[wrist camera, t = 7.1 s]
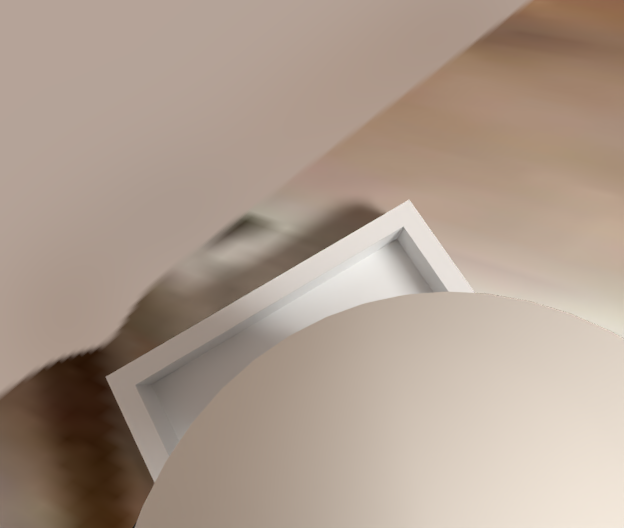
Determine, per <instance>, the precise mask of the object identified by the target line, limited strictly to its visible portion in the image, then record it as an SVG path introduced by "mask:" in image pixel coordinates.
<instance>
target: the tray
mask: <svg viewBox="0 0 624 528" xmlns="http://www.w3.org/2000/svg"><path fill="white" fill-rule="evenodd" d="M445 291H446V292H467V293H475V292H474V290H473V289H472V288H471V286H470V285H469V283H468V282H467V281H466V279H465V278H464V276H463V275H462V274H461V272H460V271H459V269H458V268H457V266H456V265H455V264H454V262H453V261H452V259H451V258H450V257H449V255H448V254H447V252H446V251H445V250H444V248H443V247H442V245H441V244H440V242H439V241H438V240H437V238H436V237H435V235H434V234H433V233H432V231H431V230H430V228H429V227H428V226H427V224H426V223H425V221H424V220H423V218H422V217H421V216H420V214H419V213H418V211H417V210H416V209H415V207H414V206H413V204H412V203H411V201H410V200H408V201H406V202H404V203H403V204H401V205H399V206H397V207H396V208H394V209H392V210H391V211H389V212H387V213H385V214H384V215H382V216H380V217H379V218H377V219H375V220H373V221H372V222H370V223H368V224H367V225H365V226H363V227H361V228H360V229H358V230H356V231H355V232H353V233H351V234H349V235H348V236H346V237H344V238H343V239H341V240H339V241H337V242H336V243H334V244H332V245H331V246H329V247H327V248H325V249H324V250H322V251H320V252H319V253H317V254H315V255H313V256H312V257H310V258H308V259H307V260H305V261H303V262H301V263H300V264H298V265H296V266H295V267H293V268H291V269H289V270H288V271H286V272H284V273H283V274H281V275H279V276H277V277H276V278H274V279H272V280H271V281H269V282H267V283H265V284H264V285H262V286H260V287H259V288H257V289H255V290H253V291H252V292H250V293H248V294H247V295H245V296H243V297H241V298H240V299H238V300H236V301H235V302H233V303H231V304H230V305H228V306H226V307H224V308H223V309H221V310H219V311H218V312H216V313H214V314H212V315H211V316H209V317H207V318H206V319H204V320H202V321H200V322H199V323H197V324H195V325H194V326H192V327H190V328H188V329H187V330H185V331H183V332H182V333H180V334H178V335H176V336H175V337H173V338H171V339H170V340H168V341H166V342H164V343H163V344H161V345H159V346H158V347H156V348H154V349H152V350H151V351H149V352H147V353H146V354H144V355H142V356H140V357H139V358H137V359H135V360H134V361H132V362H130V363H128V364H127V365H125V366H123V367H122V368H120V369H118V370H116V371H115V372H113V373H111V374H110V375H108V376H106V379H107V381H108V384H109V386H110V388H111V390H112V392H113V394H114V397H115V399H116V401H117V403H118V405H119V407H120V409H121V412H122V414H123V416H124V418H125V420H126V422H127V425H128V427H129V429H130V431H131V433H132V435H133V438H134V440H135V442H136V444H137V446H138V448H139V451H140V453H141V455H142V457H143V459H144V461H145V463H146V466H147V468H148V470H149V472H150V474H151V476H152V479H153V481H154V483H155V481H156V479H157V478H158V476H159V474H160V472H161V470H162V468H163V466H164V464H165V462H166V461H167V459H168V458H169V456H170V455H171V453H172V452H173V450H174V449H175V447H176V446H177V444H178V443H179V441H180V440H181V438H182V437H183V436H184V434H185V433H186V431H187V430H188V428H189V427H190V425H191V424H192V422H193V421H194V420H195V419H196V418H197V417H198V416H199V414H200V413H201V412H202V411H203V410H204V409H205V408H206V406H207V405H208V404H209V403H210V402H211V401H212V399H213V398H214V397H215V396H216V395H217V394H218V393H219V391H220V390H221V389H222V388H223V387H224V386H226V385H227V384H228V383H229V382H230V381H231V380H232V379H233V378H234V377H236V376H237V375H238V374H239V373H240V372H241V371H242V370H243V369H245V368H246V367H247V366H248V365H249V364H250V363H251V362H252V361H253V360H255V359H256V358H258V357H259V356H261V355H262V354H263V353H265V352H266V351H268V350H269V349H271V348H272V347H274V346H275V345H277V344H278V343H279V342H281V341H282V340H284V339H285V338H287V337H288V336H290V335H292V334H294V333H296V332H298V331H300V330H302V329H304V328H305V327H307V326H309V325H311V324H313V323H315V322H317V321H319V320H321V319H323V318H325V317H327V316H330V315H333V314H336V313H339V312H342V311H344V310H347V309H350V308H353V307H356V306H358V305H361V304H364V303H368V302H373V301H378V300H382V299H387V298H392V297H396V296H401V295H408V294H420V293H433V292H445Z"/></svg>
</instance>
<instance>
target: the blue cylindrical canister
mask: <svg viewBox="0 0 624 528" xmlns="http://www.w3.org/2000/svg"><path fill="white" fill-rule="evenodd" d="M135 528H624V338H622V337H620V336H619V335H617V334H615V333H613V332H612V331H609V330H607V329H605V328H603V327H600V326H598V325H596V324H593V323H591V322H589V321H587V320H584V319H582V318H580V317H577V316H575V315H573V314H571V313H567V312H564V311H561V310H557V309H554V308H551V307H548V306H544V305H541V304H538V303H534V302H531V301H527V300H521V299H516V298H510V297H504V296H499V295H493V294H487V293H467V292H446V291H445V292H433V293H420V294H408V295H401V296H396V297H392V298H387V299H382V300H378V301H373V302H368V303H364V304H361V305H358V306H356V307H353V308H350V309H347V310H344V311H342V312H339V313H336V314H333V315H330V316H327V317H325V318H323V319H321V320H319V321H317V322H315V323H313V324H311V325H309V326H307V327H305V328H304V329H302V330H300V331H298V332H296V333H294V334H292V335H290V336H288V337H287V338H285V339H284V340H282V341H281V342H279V343H278V344H277V345H275V346H274V347H272V348H271V349H269V350H268V351H266V352H265V353H263V354H262V355H261V356H259V357H258V358H256V359H255V360H253V361H252V362H251V363H250V364H249V365H248V366H247V367H246V368H245V369H243V370H242V371H241V372H240V373H239V374H238V375H237V376H236V377H234V378H233V379H232V380H231V381H230V382H229V383H228V384H227V385H226V386H224V387H223V388H222V389H221V390H220V391H219V393H218V394H217V395H216V396H215V397H214V398H213V399H212V401H211V402H210V403H209V404H208V405H207V406H206V408H205V409H204V410H203V411H202V412H201V413H200V414H199V416H198V417H197V418H196V419H195V420H194V421H193V422H192V424H191V425H190V427H189V428H188V430H187V431H186V433H185V434H184V436H183V437H182V438H181V440H180V441H179V443H178V444H177V446H176V447H175V449H174V450H173V452H172V453H171V455H170V456H169V458H168V459H167V461H166V462H165V464H164V466H163V468H162V470H161V472H160V474H159V476H158V478H157V479H156V481H155V483H154V485H153V487H152V489H151V491H150V493H149V495H148V497H147V499H146V501H145V503H144V505H143V507H142V509H141V512H140V515H139V517H138V520H137V523H136V525H135Z"/></svg>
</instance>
